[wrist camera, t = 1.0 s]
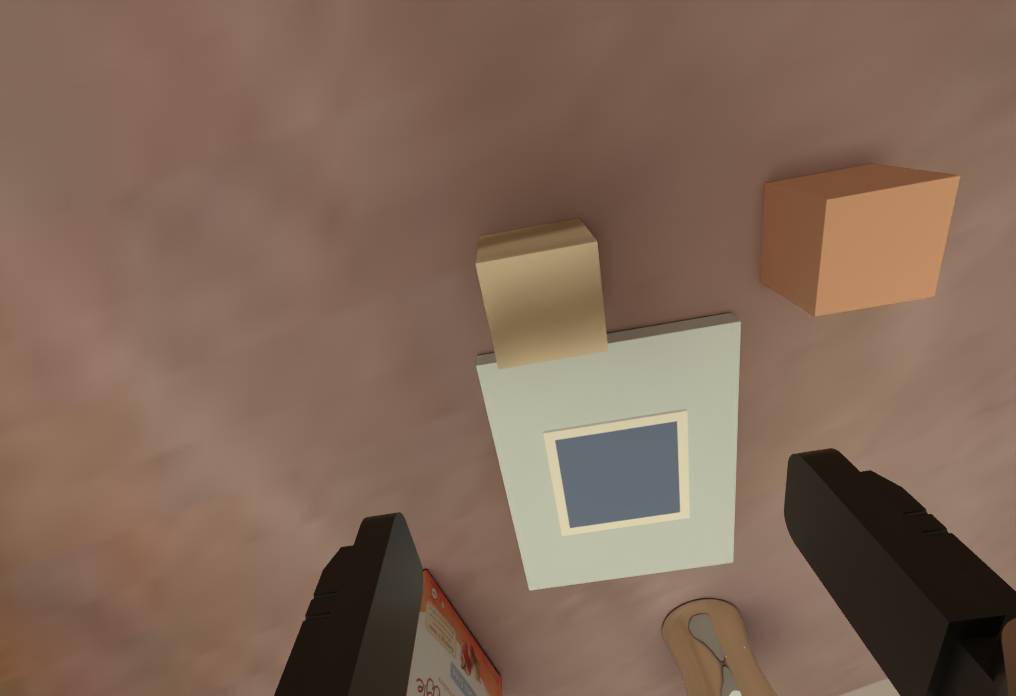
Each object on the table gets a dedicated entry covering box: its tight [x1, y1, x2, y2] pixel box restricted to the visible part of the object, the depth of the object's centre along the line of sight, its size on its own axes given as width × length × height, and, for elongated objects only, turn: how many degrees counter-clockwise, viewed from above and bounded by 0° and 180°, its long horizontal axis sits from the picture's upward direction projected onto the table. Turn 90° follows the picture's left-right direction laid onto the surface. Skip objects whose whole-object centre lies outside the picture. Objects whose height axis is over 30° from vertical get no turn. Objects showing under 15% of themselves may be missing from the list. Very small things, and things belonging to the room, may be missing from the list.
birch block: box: [476, 218, 608, 370], centre depth 23 cm, size 5×5×5 cm
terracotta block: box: [760, 164, 961, 317], centre depth 22 cm, size 5×5×5 cm
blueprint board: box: [476, 313, 741, 590], centre depth 30 cm, size 18×14×1 cm
